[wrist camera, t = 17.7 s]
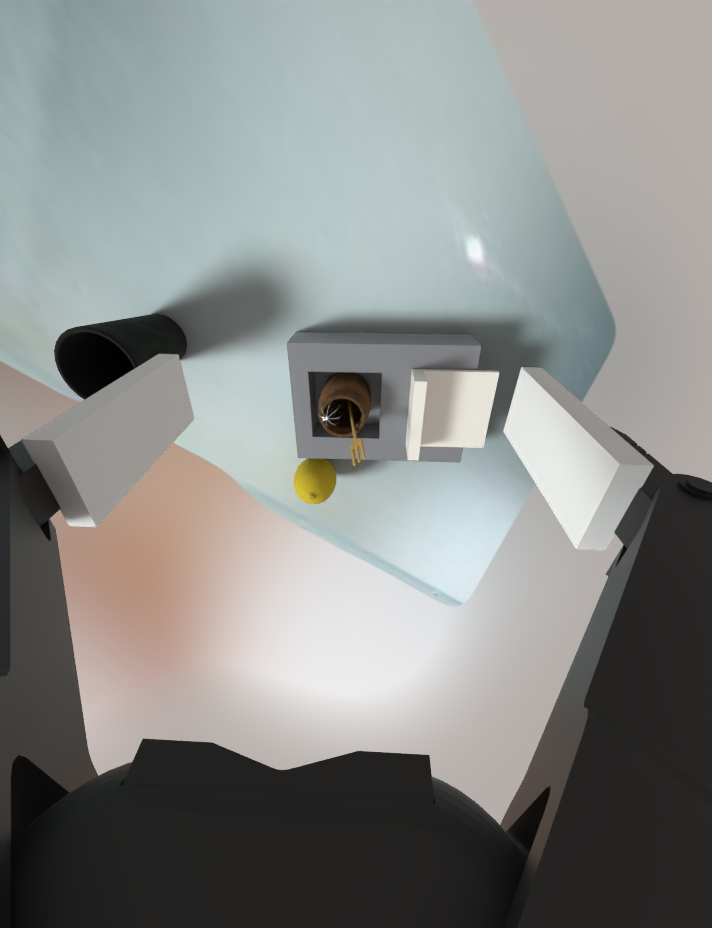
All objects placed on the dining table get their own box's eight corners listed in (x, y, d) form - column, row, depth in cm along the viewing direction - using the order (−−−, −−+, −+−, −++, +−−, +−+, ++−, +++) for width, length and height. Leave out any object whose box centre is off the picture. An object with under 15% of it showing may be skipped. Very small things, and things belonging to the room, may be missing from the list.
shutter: (411, 369, 39) (414, 381, 35) (497, 370, 38) (508, 383, 35) (405, 443, 44) (407, 460, 40) (481, 445, 43) (490, 462, 40)
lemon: (312, 439, 50) (302, 471, 43) (346, 460, 51) (341, 494, 44) (292, 467, 52) (280, 501, 46) (325, 485, 54) (318, 522, 47)
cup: (202, 324, 42) (148, 353, 32) (187, 381, 46) (134, 422, 36) (135, 291, 41) (55, 310, 31) (125, 352, 44) (51, 387, 34)
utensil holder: (350, 358, 43) (341, 398, 32) (382, 398, 45) (384, 447, 35) (312, 388, 45) (294, 434, 35) (345, 425, 47) (337, 477, 37)
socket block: (295, 331, 42) (286, 342, 38) (470, 334, 41) (481, 345, 37) (304, 438, 50) (298, 457, 45) (453, 442, 49) (460, 462, 45)
